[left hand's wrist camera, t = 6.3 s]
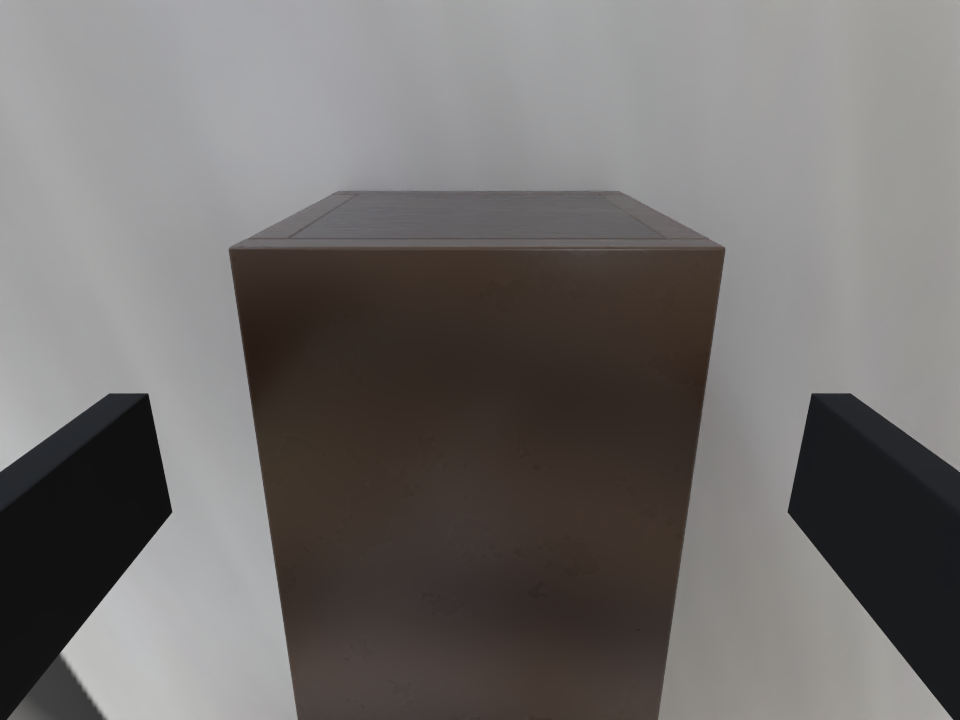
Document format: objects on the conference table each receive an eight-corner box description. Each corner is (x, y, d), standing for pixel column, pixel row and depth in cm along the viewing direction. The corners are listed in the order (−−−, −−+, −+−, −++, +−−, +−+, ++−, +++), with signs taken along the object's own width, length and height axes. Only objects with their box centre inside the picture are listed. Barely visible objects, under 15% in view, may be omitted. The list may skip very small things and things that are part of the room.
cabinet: (587, 608, 30) (640, 848, 20) (369, 608, 30) (316, 848, 20) (620, 191, 23) (727, 247, 13) (336, 191, 23) (226, 246, 13)
